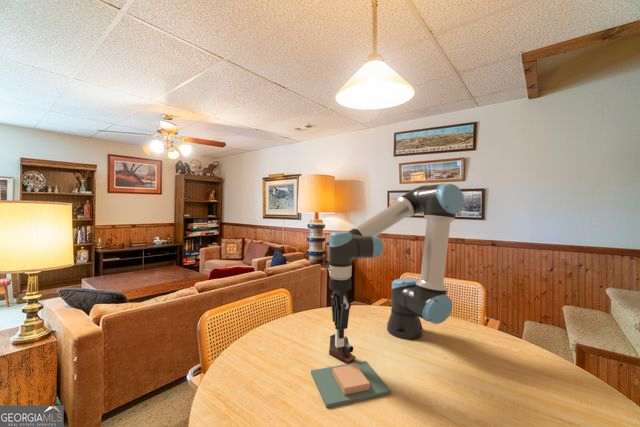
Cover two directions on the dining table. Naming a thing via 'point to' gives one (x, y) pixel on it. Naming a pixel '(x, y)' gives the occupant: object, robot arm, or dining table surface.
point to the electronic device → (341, 350)
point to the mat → (333, 392)
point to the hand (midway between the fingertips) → (339, 345)
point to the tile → (350, 379)
